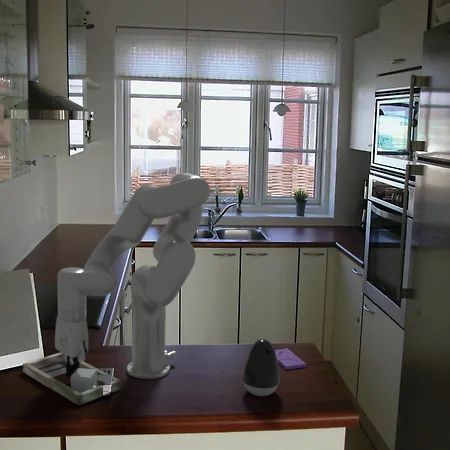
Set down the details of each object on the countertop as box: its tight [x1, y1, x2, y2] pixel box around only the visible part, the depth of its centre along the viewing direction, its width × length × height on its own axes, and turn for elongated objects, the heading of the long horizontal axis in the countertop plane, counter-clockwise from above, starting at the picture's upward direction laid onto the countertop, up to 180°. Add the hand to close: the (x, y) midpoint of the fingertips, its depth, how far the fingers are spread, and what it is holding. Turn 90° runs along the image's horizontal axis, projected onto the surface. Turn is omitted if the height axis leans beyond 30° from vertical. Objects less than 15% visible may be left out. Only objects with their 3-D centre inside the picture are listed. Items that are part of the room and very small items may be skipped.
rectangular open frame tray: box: [22, 352, 122, 406], centre depth 162 cm, size 13×28×2 cm, turn 48°
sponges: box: [274, 347, 307, 371], centre depth 181 cm, size 7×13×2 cm, turn 21°
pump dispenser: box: [242, 338, 281, 397], centre depth 158 cm, size 10×10×15 cm
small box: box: [70, 368, 98, 393], centre depth 157 cm, size 6×6×5 cm
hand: (72, 375), depth 161 cm, fingers closed
